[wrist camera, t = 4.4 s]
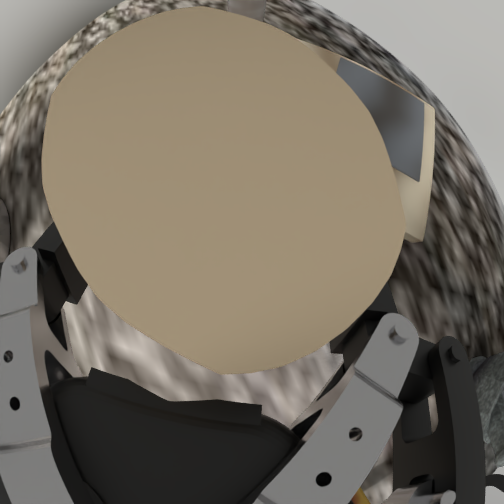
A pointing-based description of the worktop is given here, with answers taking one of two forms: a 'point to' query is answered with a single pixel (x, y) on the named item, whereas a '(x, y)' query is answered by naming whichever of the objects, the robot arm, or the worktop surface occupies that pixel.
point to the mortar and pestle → (491, 400)
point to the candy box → (360, 497)
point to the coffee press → (495, 481)
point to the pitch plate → (385, 124)
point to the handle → (221, 188)
